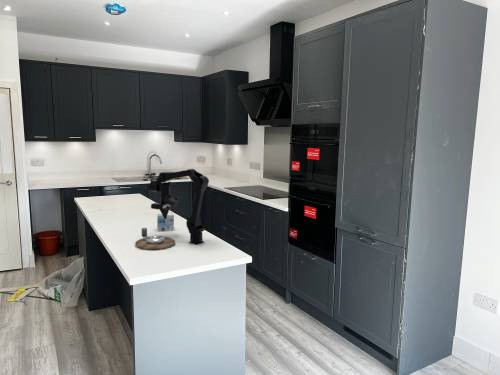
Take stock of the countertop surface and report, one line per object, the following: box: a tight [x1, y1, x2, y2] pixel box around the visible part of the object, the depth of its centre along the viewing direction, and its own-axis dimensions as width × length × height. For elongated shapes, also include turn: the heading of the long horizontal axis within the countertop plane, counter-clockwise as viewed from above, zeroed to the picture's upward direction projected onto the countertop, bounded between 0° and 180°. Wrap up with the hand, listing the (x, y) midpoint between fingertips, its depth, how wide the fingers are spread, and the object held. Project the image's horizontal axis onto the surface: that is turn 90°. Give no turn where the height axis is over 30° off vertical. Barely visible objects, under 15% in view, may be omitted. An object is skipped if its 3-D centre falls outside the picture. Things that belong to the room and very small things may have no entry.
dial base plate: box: [134, 236, 176, 251], centre depth 216 cm, size 22×22×2 cm
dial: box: [141, 227, 165, 244], centre depth 216 cm, size 14×10×6 cm
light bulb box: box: [156, 212, 175, 232], centre depth 248 cm, size 11×7×11 cm, turn 105°
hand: (165, 218), depth 229 cm, fingers closed
